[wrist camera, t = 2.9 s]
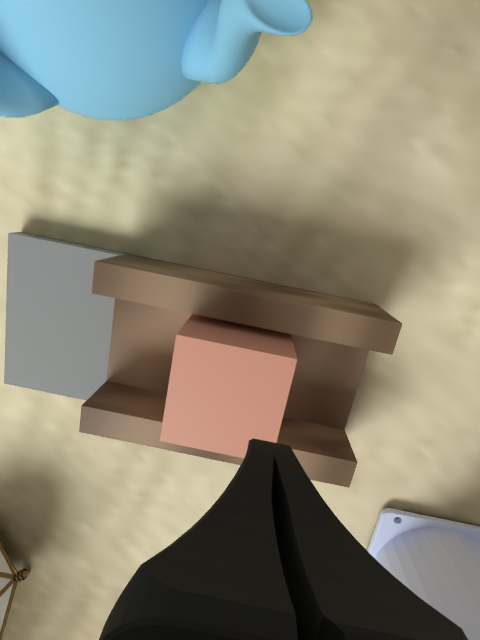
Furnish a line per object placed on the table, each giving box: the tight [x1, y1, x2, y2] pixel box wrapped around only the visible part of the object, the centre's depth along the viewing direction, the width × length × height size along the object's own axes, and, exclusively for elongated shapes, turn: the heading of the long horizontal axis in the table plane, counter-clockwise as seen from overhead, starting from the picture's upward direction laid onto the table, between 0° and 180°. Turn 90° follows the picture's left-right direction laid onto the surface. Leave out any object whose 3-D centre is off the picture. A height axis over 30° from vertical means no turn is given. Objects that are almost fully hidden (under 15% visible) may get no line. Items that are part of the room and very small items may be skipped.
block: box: [160, 314, 297, 458], centre depth 18 cm, size 5×5×5 cm
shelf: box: [4, 232, 125, 400], centre depth 21 cm, size 6×9×1 cm
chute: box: [79, 254, 402, 487], centre depth 20 cm, size 14×9×4 cm, turn 79°
